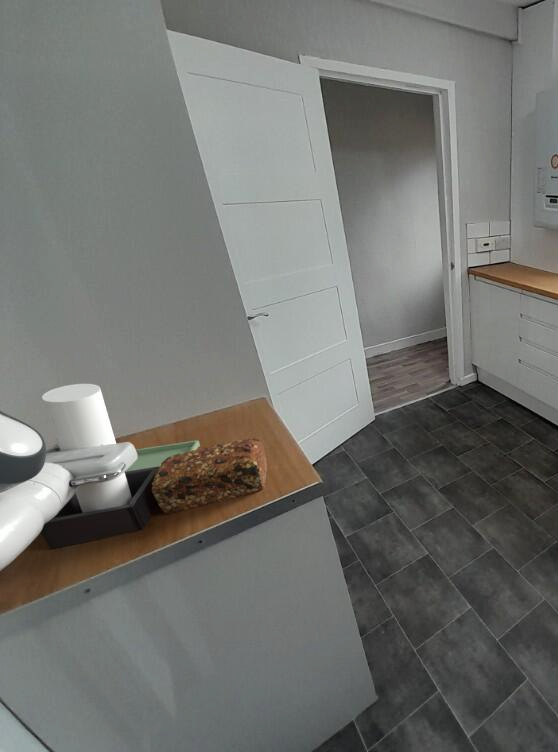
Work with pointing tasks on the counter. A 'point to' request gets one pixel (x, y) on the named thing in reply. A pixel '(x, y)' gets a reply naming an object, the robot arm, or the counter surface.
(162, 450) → the tray
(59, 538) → the basket
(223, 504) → the counter surface
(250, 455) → the bread
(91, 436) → the cylindrical container
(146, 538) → the counter surface
